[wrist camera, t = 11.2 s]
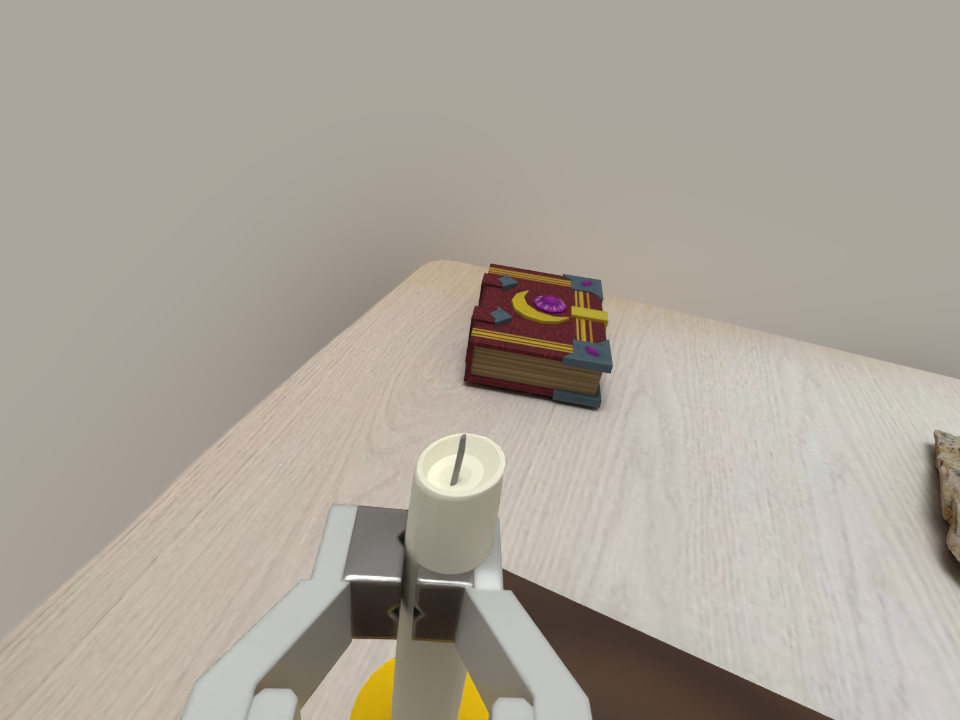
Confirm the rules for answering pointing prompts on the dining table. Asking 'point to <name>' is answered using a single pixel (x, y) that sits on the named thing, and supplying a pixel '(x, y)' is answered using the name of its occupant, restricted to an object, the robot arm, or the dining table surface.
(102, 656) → the dining table surface
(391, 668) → the candle
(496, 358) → the decorative book
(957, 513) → the stone
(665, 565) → the dining table surface
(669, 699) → the board
